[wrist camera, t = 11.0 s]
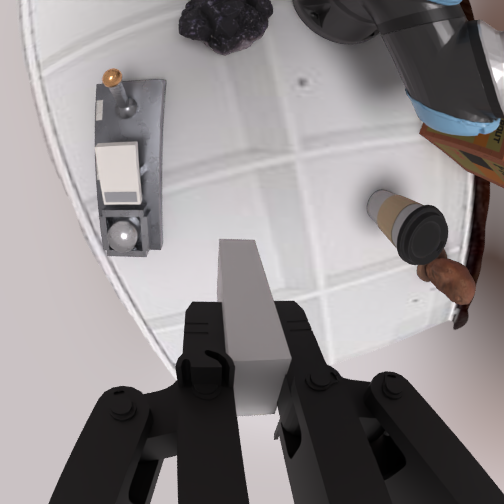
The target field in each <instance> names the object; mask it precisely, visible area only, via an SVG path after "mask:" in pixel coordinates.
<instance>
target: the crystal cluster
mask: <svg viewBox="0 0 504 504" xmlns="http://www.w3.org/2000/svg"><path fill="white" fill-rule="evenodd" d="M185 8H186V9H184V10H183V11H182V16H181V17H180V19H179V33H180V35H182V36H184V37H187V38H190V39H193V40H194V39H195V40H201V41H204V43H205V44H206V45H207V46H209V47H210V48H212V49H213V50H214V51H215V52H217V53H219V54H222V55H227V54H230V53H232V52H236V51H240V50H242V49H246V48H248V47H249V46H251V44H252V43H253V42H254V41H255V40H257V39H260V38H261V37H262V36H263V34H264V32H265V30H266V29H267V27H268V18H269V17H270V16H271V15H272V13H273V6H272V4H271V1H270V0H191V1H190V2H188V3H187V4H186V7H185Z"/></svg>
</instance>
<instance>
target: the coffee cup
mask: <svg viewBox="0 0 504 504" xmlns="http://www.w3.org/2000/svg"><path fill="white" fill-rule="evenodd" d="M367 211H368V214H369V216H370V217H371V218H372V219H373V220H374V221H375V223H376V224H377V225H378V227H379V228H380V229H381V231H382V232H383V233H384V234H385V235H386V237H387V238H388V239H389V240H390V241H391V242H392V244H393V245H394V246H395V247H396V248H397V251H398V254H399V256H400V257H401V259H402V260H404V261H405V262H407V263H409V264H411V265H426V264H428V263H430V262H432V261H433V260H435V259H436V258H437V257H438V256H439V255H440V253H441V252H442V250H443V249H444V247H445V244H446V242H447V238H448V226H447V223H446V221H445V218H444V216H443V214H442V213H441V212H440V211H439V209H437V208H436V207H434V206H432V205H422V204H420V203H418V202H415V201H413V200H410V199H408V198H406V197H403V196H400V195H396V194H393V193H391V192H388V191H385V190H379V191H376V192H375V193H374V194H373V195H372V196H371V197H370V199H369V201H368V205H367Z"/></svg>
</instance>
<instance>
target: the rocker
mask: <svg viewBox="0 0 504 504" xmlns="http://www.w3.org/2000/svg"><path fill="white" fill-rule="evenodd" d="M95 153H96V160H97V167H98V173H99V179H100V185H101V190H102V196H103V201H104V205H114V204H141V202H142V192H141V182H140V171H139V158H138V142H137V141H134V142H113V143H98V144H97V145H96V146H95Z"/></svg>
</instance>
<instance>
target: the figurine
mask: <svg viewBox="0 0 504 504" xmlns="http://www.w3.org/2000/svg"><path fill="white" fill-rule="evenodd" d="M417 275H418V276H419V278H420V279H421V280H423V281H426V282H429V281H431V282H432V283H433V284H434V285H435V286H436V288H437V289H438V290H439V291H441V292H442V293H444V294H445V295H446V296H447V297H448V298H449V299H450V300H451V301H452V302H455V303H456V304H460V305H464V304H469V303H470V301H471V300H472V298H473V296H474V294H475V282H474V280H473V278H472V277H471V275H470V273H469V271H468V269H467V268H466V267H465V266H464V265H462V264H461V263H459V262H456V261H453V260H451V259H447V255H446V252H445V250H444V249H443V250H442V252H441V253H440V255H439V256H438V257H437V258H436V259H435V260H433V261H432V262H430V263H428V264H426V265H418V267H417Z"/></svg>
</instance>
